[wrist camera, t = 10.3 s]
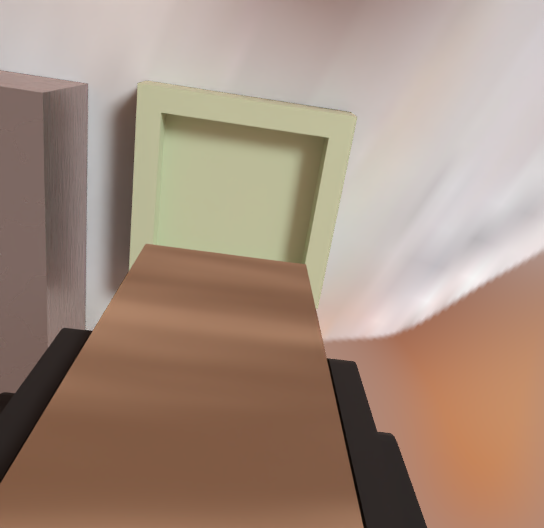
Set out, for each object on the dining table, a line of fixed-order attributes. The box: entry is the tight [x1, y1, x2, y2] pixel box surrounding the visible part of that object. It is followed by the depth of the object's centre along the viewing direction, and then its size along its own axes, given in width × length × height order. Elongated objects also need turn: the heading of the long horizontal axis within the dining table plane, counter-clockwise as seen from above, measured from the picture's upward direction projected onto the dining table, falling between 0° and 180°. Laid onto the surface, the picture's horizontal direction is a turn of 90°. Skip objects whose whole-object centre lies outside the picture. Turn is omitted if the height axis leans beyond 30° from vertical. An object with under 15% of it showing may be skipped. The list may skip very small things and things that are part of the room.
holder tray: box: [129, 81, 357, 309], centre depth 23 cm, size 9×9×2 cm
